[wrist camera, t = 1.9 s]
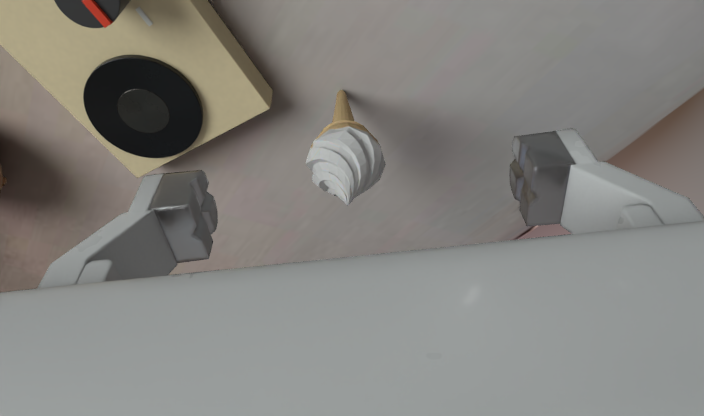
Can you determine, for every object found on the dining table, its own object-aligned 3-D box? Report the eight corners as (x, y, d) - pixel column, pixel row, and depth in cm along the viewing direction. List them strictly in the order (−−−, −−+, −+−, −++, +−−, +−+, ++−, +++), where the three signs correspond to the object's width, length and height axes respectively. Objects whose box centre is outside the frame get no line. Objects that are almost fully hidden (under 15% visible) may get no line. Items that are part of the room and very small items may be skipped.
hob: (-29, -19, 39) (-52, -3, 37) (123, -133, 35) (108, -124, 33) (146, 159, 50) (136, 180, 47) (279, 87, 46) (276, 106, 43)
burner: (59, 88, 42) (56, 92, 41) (149, 32, 39) (147, 36, 39) (142, 170, 47) (140, 174, 46) (226, 125, 44) (225, 129, 44)
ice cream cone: (323, 51, 44) (323, 158, 32) (386, 76, 45) (406, 187, 34) (299, 107, 47) (291, 223, 36) (358, 129, 49) (368, 246, 37)
